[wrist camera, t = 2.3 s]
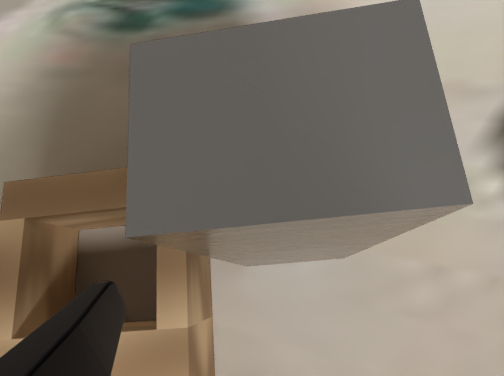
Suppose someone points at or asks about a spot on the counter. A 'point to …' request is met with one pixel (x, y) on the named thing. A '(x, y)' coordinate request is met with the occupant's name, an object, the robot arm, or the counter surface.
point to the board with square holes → (64, 274)
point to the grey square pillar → (291, 137)
